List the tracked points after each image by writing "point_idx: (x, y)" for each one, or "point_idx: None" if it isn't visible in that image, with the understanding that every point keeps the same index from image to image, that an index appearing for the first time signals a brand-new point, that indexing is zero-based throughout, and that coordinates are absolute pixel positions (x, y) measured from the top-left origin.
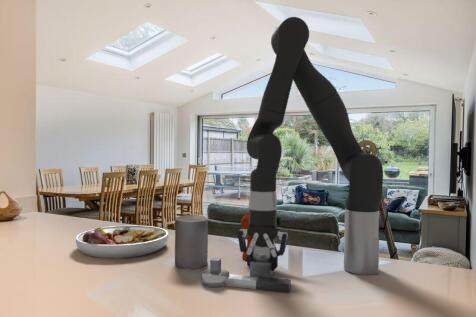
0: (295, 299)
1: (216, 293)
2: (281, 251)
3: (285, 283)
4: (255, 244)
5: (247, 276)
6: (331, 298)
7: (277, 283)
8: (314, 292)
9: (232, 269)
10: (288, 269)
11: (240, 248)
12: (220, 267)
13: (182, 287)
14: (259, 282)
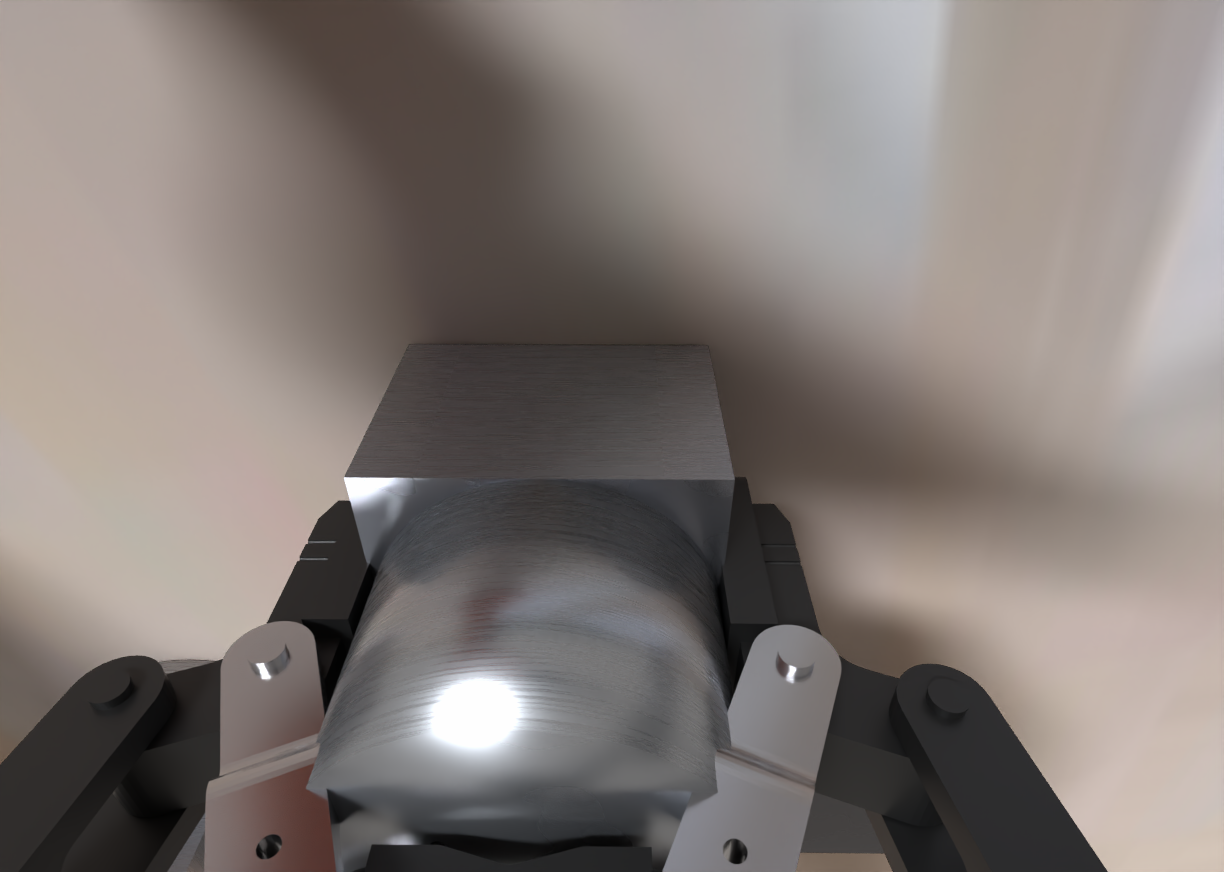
0: None
1: None
2: (921, 838)
3: (872, 851)
4: (359, 862)
5: None
6: (1208, 783)
7: (801, 847)
8: (1105, 730)
9: (110, 394)
10: (944, 143)
11: (125, 820)
12: (199, 867)
13: None
14: None
